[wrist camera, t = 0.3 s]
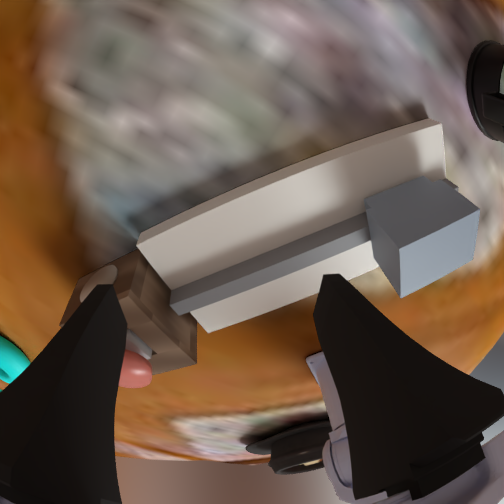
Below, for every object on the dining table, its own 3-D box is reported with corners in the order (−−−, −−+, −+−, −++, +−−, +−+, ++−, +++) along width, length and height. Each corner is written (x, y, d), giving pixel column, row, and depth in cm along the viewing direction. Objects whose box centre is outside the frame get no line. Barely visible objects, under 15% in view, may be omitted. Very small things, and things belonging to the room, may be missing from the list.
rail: (435, 226, 22) (454, 245, 19) (207, 319, 24) (208, 347, 22) (428, 118, 16) (455, 129, 13) (140, 233, 19) (131, 259, 16)
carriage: (430, 216, 19) (472, 259, 14) (365, 245, 19) (400, 298, 15) (428, 170, 16) (480, 209, 12) (356, 199, 17) (399, 248, 13)
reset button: (167, 329, 21) (163, 382, 17) (129, 341, 22) (121, 391, 18) (136, 296, 19) (124, 352, 15) (97, 312, 19) (83, 364, 15)
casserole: (363, 395, 42) (377, 437, 35) (365, 420, 53) (375, 451, 46) (229, 434, 45) (233, 474, 38) (261, 450, 55) (266, 481, 49)
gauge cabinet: (197, 314, 24) (196, 363, 20) (135, 335, 25) (128, 380, 21) (141, 244, 19) (126, 293, 15) (77, 277, 20) (57, 323, 16)
